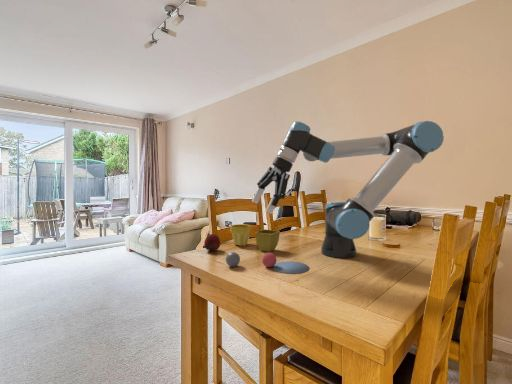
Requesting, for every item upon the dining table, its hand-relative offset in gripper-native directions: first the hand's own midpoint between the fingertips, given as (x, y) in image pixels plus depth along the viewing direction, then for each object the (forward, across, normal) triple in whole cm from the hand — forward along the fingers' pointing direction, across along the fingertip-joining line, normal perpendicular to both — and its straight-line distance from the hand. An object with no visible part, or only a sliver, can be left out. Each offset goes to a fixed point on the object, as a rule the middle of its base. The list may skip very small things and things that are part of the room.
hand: (261, 207), depth 106 cm
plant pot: (+25, -26, +14) cm, 39 cm away
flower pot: (+19, -10, +20) cm, 29 cm away
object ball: (+16, +10, +8) cm, 20 cm away
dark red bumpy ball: (+30, -20, -1) cm, 37 cm away
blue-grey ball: (+22, +4, -3) cm, 23 cm away
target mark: (+15, +14, +15) cm, 26 cm away
